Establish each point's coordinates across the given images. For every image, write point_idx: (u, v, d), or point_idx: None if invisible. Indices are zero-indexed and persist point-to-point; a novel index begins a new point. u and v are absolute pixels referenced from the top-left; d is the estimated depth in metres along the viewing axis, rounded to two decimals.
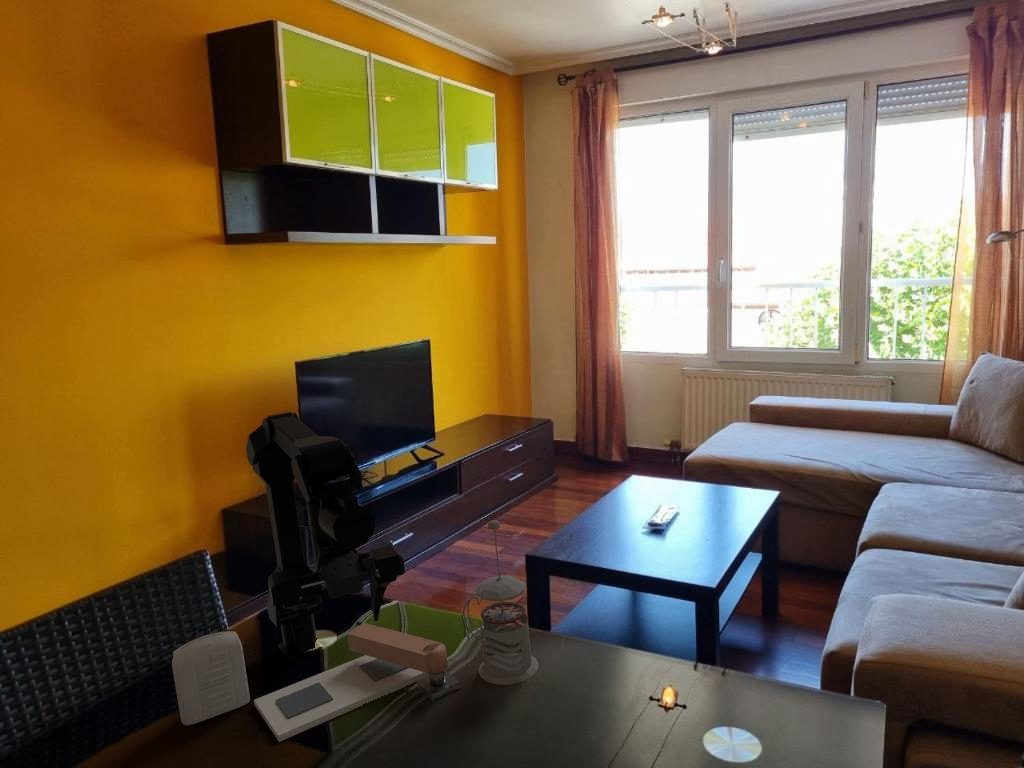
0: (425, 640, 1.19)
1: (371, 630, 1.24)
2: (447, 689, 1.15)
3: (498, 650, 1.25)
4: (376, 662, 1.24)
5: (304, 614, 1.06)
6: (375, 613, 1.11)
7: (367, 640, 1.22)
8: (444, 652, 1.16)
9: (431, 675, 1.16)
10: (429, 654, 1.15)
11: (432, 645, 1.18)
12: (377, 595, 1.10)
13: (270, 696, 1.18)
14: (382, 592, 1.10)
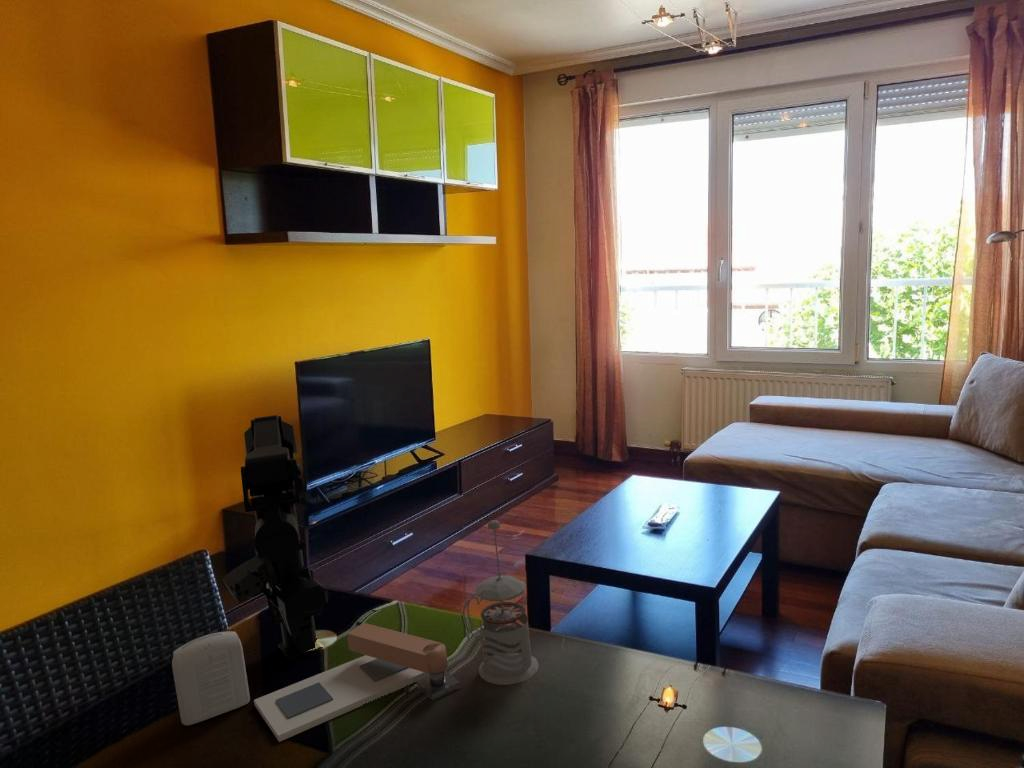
0: (425, 640, 1.19)
1: (371, 630, 1.24)
2: (447, 689, 1.15)
3: (498, 650, 1.25)
4: (376, 662, 1.24)
5: (280, 608, 1.13)
6: (288, 627, 1.13)
7: (367, 640, 1.22)
8: (444, 652, 1.16)
9: (431, 675, 1.16)
10: (429, 654, 1.15)
11: (432, 645, 1.18)
12: (282, 612, 1.12)
13: (270, 696, 1.18)
14: None
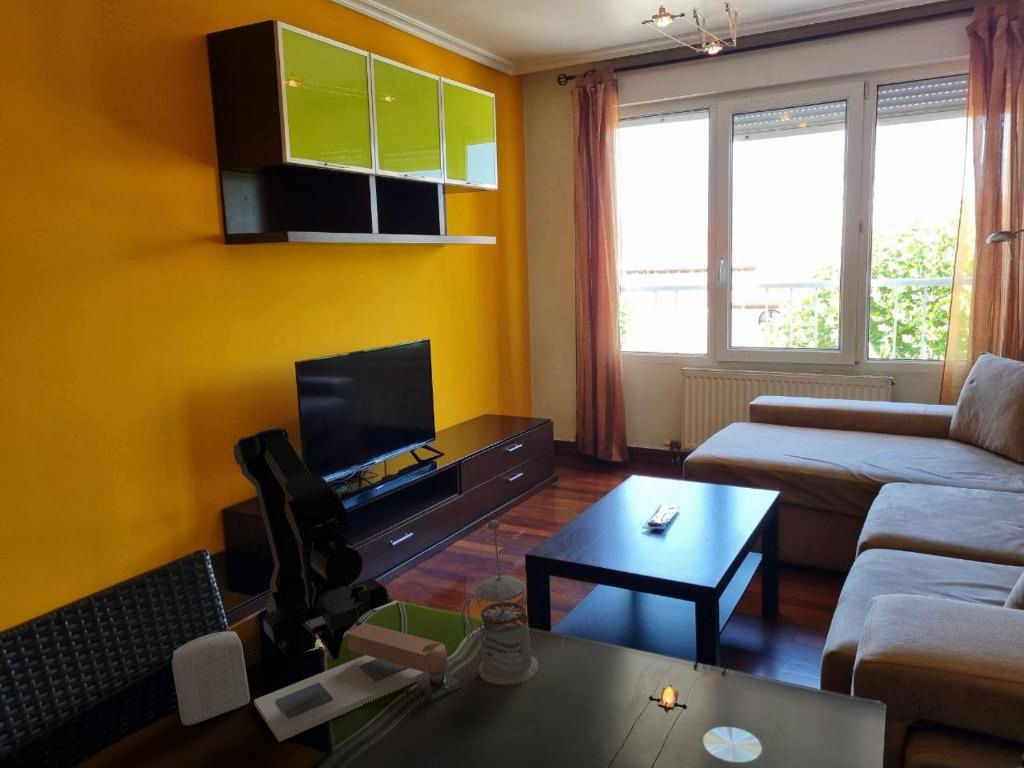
0: (425, 640, 1.19)
1: (371, 630, 1.24)
2: (447, 689, 1.15)
3: (498, 650, 1.25)
4: (376, 662, 1.24)
5: (328, 638, 1.17)
6: (336, 651, 1.18)
7: (367, 640, 1.22)
8: (444, 652, 1.16)
9: (431, 675, 1.16)
10: (429, 654, 1.15)
11: (432, 645, 1.18)
12: (338, 634, 1.18)
13: (270, 696, 1.18)
14: (342, 631, 1.18)
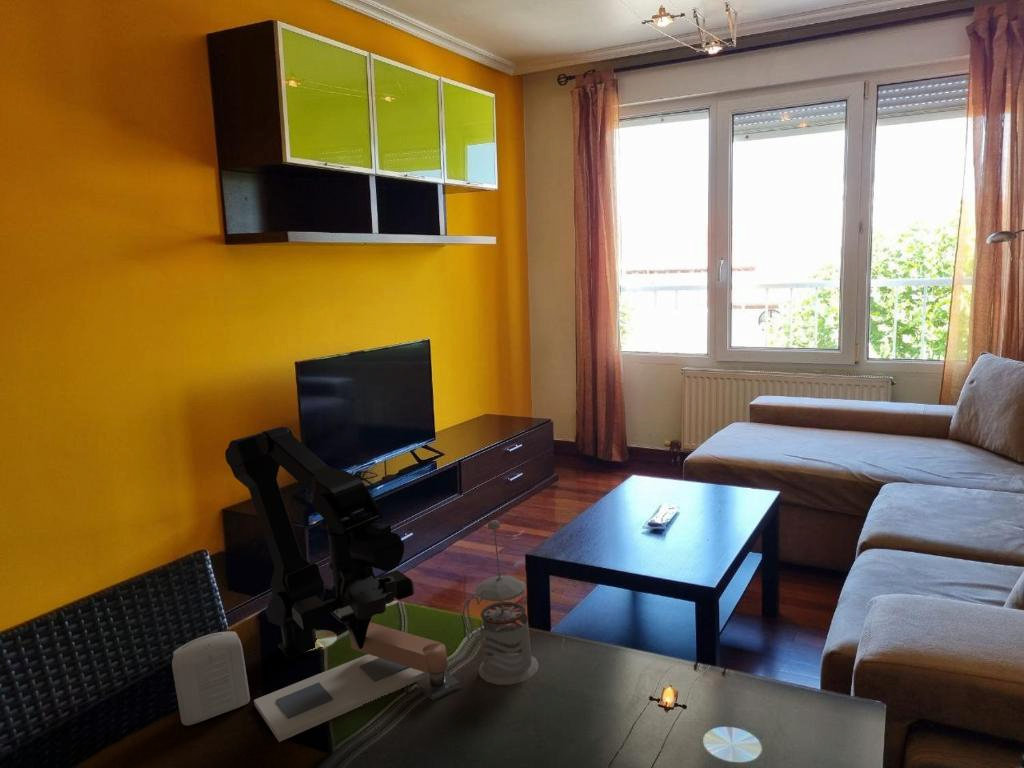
0: (426, 640, 1.19)
1: (373, 629, 1.25)
2: (447, 689, 1.15)
3: (498, 650, 1.25)
4: (376, 662, 1.24)
5: (355, 627, 1.20)
6: (361, 641, 1.21)
7: (369, 639, 1.22)
8: (444, 652, 1.16)
9: (431, 675, 1.16)
10: (429, 654, 1.15)
11: (432, 645, 1.18)
12: (363, 624, 1.20)
13: (270, 696, 1.18)
14: (368, 621, 1.21)
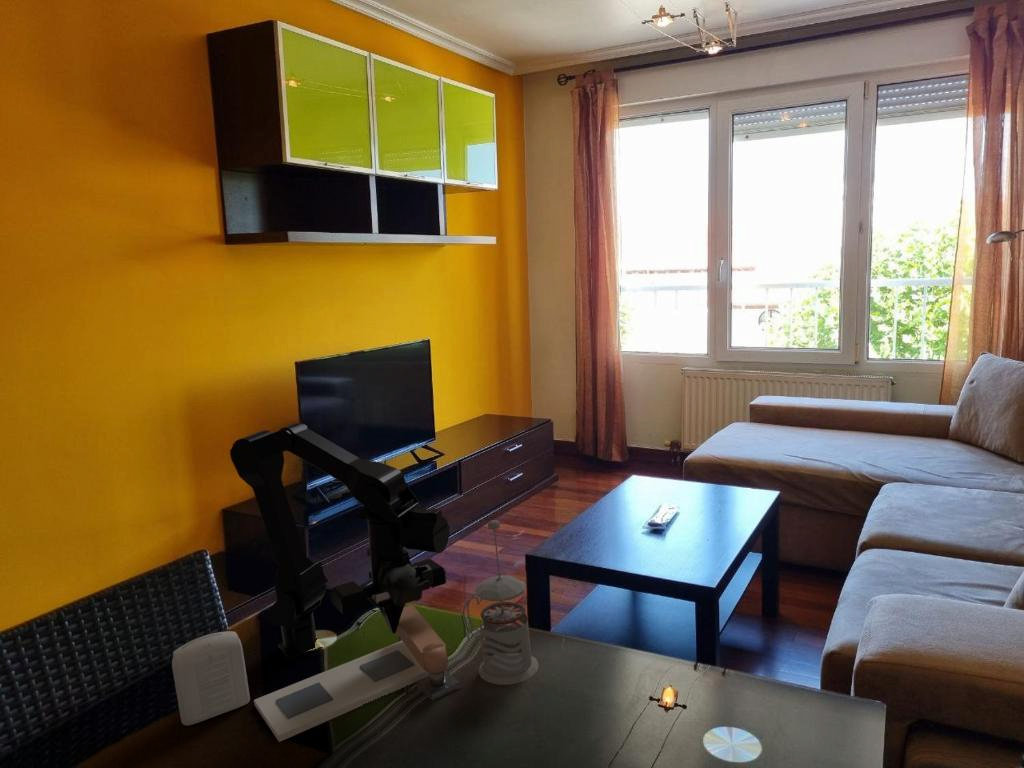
0: (436, 638, 1.20)
1: (409, 614, 1.29)
2: (447, 689, 1.15)
3: (498, 650, 1.25)
4: (376, 662, 1.24)
5: (390, 613, 1.24)
6: (394, 626, 1.25)
7: None
8: (440, 655, 1.15)
9: (431, 675, 1.16)
10: (425, 653, 1.15)
11: (436, 645, 1.18)
12: (397, 610, 1.25)
13: (270, 696, 1.18)
14: (402, 607, 1.25)
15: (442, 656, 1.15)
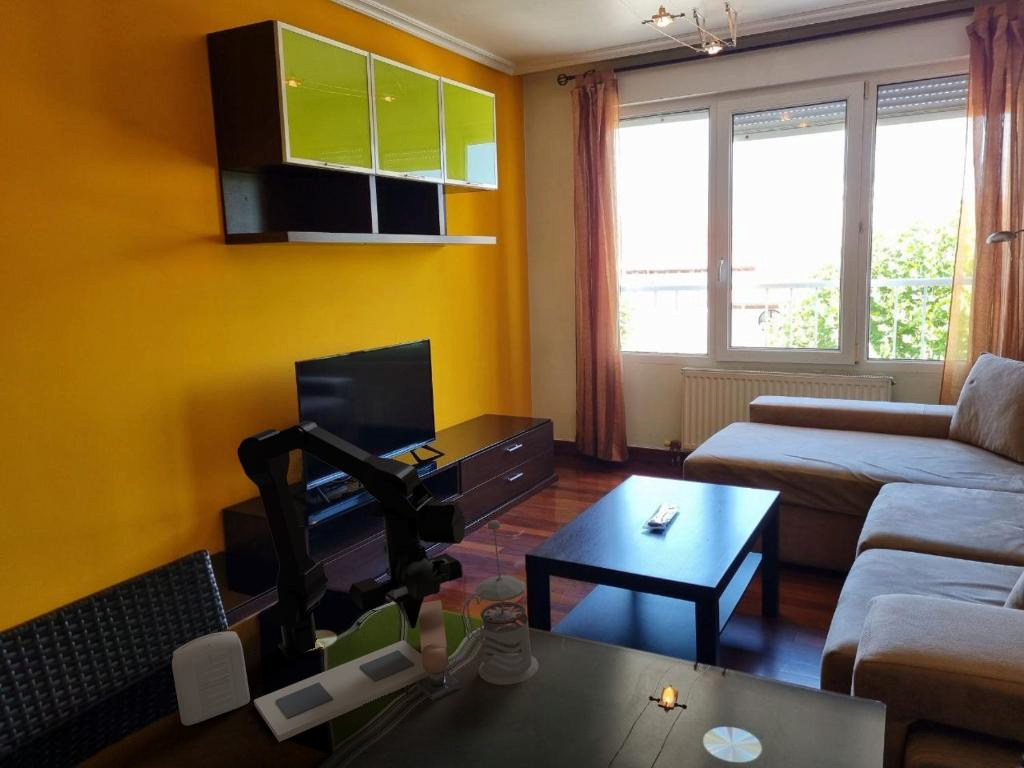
0: (442, 638, 1.20)
1: (432, 609, 1.30)
2: (447, 689, 1.15)
3: (498, 650, 1.25)
4: (376, 662, 1.24)
5: (408, 608, 1.25)
6: (414, 621, 1.27)
7: (419, 617, 1.28)
8: (437, 656, 1.15)
9: (431, 675, 1.16)
10: (424, 651, 1.16)
11: (438, 645, 1.17)
12: (416, 605, 1.26)
13: (270, 696, 1.18)
14: (420, 602, 1.26)
15: (439, 657, 1.15)
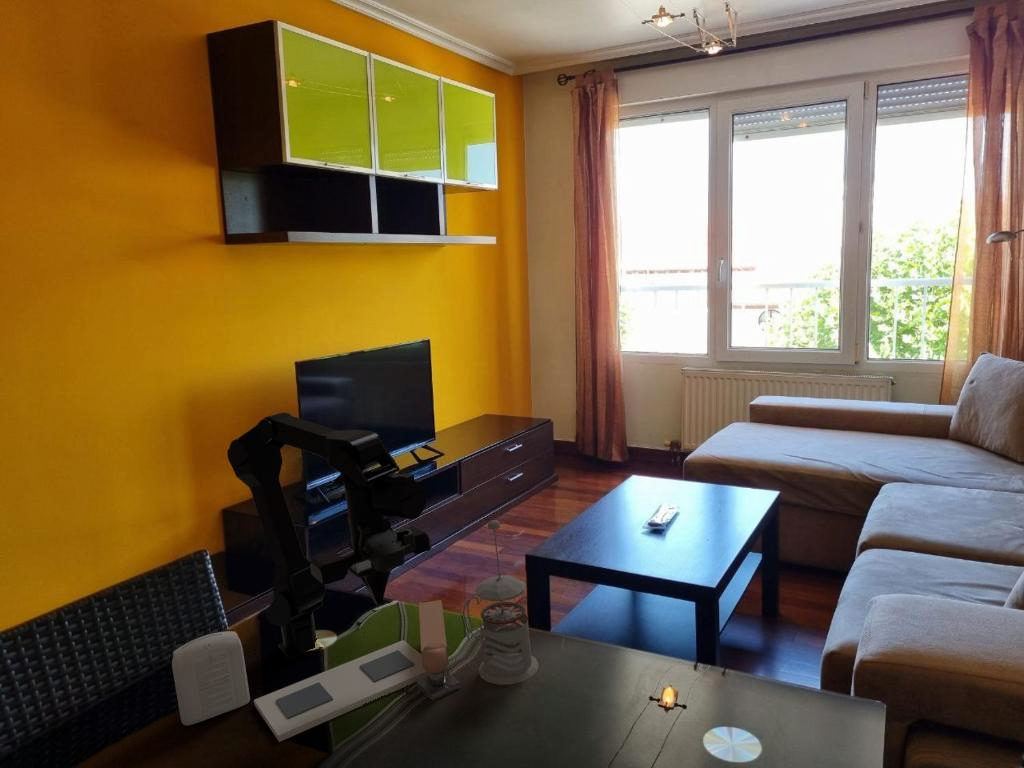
0: (443, 638, 1.20)
1: (433, 609, 1.30)
2: (447, 689, 1.15)
3: (498, 650, 1.25)
4: (376, 662, 1.24)
5: (373, 583, 1.19)
6: (380, 596, 1.21)
7: None
8: (437, 656, 1.15)
9: (431, 675, 1.16)
10: (424, 651, 1.16)
11: (438, 645, 1.17)
12: (382, 579, 1.20)
13: (270, 696, 1.18)
14: (387, 576, 1.20)
15: (439, 657, 1.15)
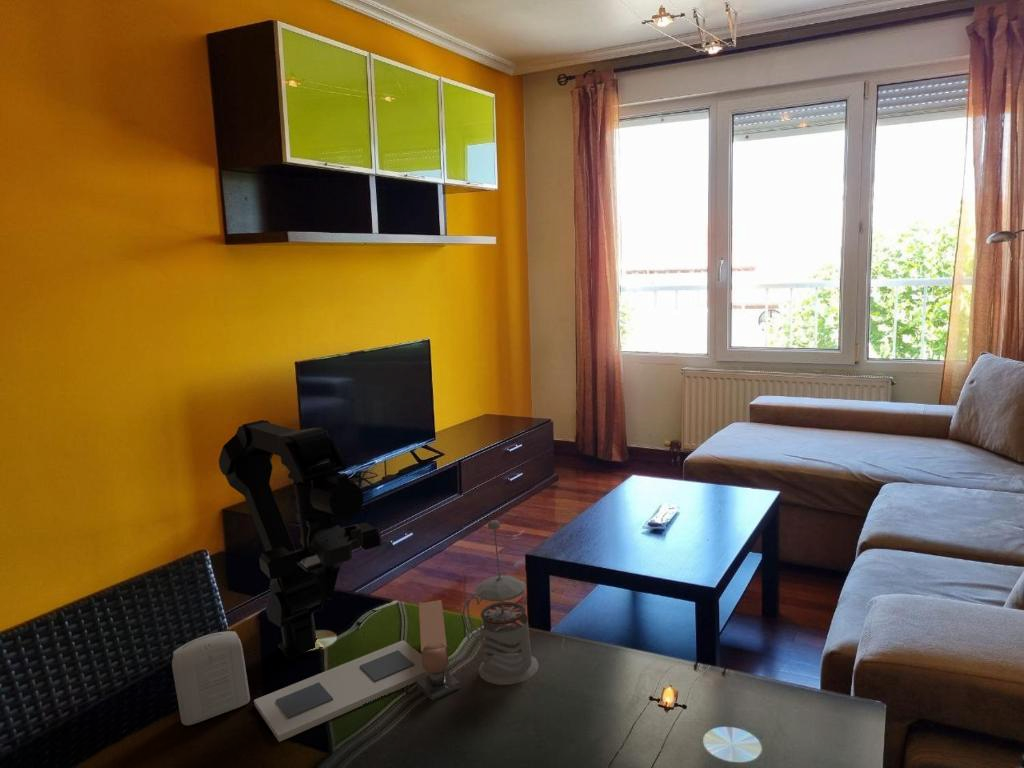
0: (443, 638, 1.20)
1: (433, 609, 1.30)
2: (447, 689, 1.15)
3: (498, 650, 1.25)
4: (376, 662, 1.24)
5: (322, 577, 1.21)
6: (330, 591, 1.22)
7: None
8: (437, 656, 1.15)
9: (431, 675, 1.16)
10: (424, 651, 1.16)
11: (438, 645, 1.17)
12: (332, 574, 1.21)
13: (270, 696, 1.18)
14: (336, 571, 1.22)
15: (439, 657, 1.15)
